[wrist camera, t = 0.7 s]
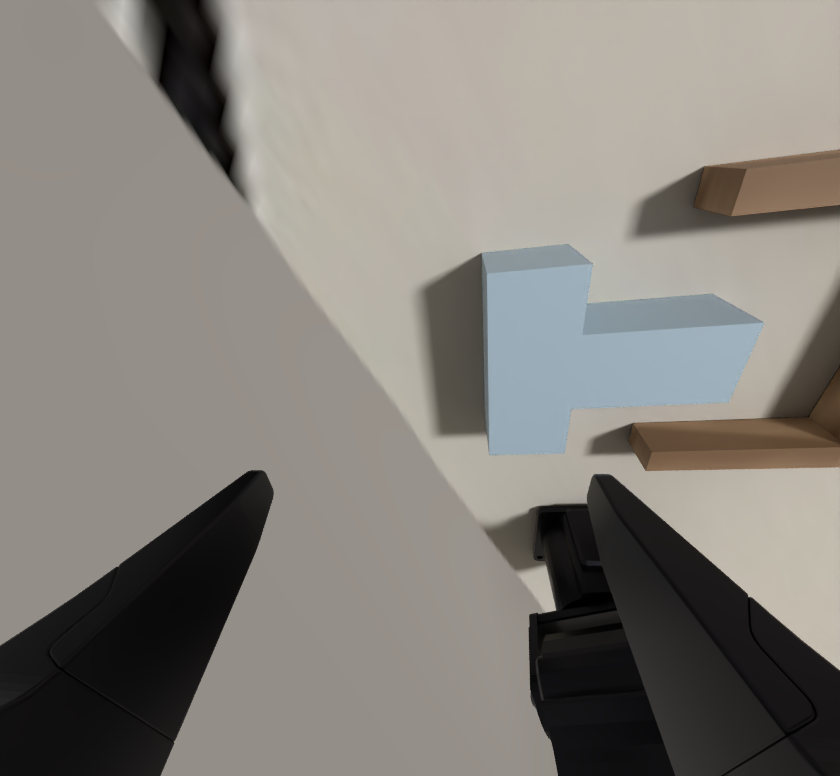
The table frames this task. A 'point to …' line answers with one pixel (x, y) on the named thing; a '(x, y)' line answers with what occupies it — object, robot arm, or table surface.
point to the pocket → (755, 438)
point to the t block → (594, 348)
